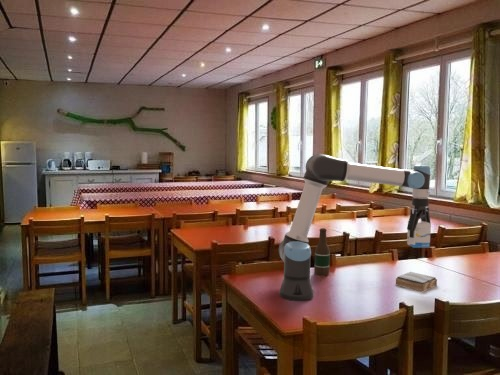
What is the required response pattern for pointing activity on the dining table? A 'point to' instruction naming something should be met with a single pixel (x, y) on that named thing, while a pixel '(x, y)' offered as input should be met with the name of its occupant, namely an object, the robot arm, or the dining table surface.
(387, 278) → the dining table surface
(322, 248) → the beer bottle
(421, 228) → the ink box
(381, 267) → the dining table surface
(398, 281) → the plinth
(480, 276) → the dining table surface
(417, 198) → the robot arm
